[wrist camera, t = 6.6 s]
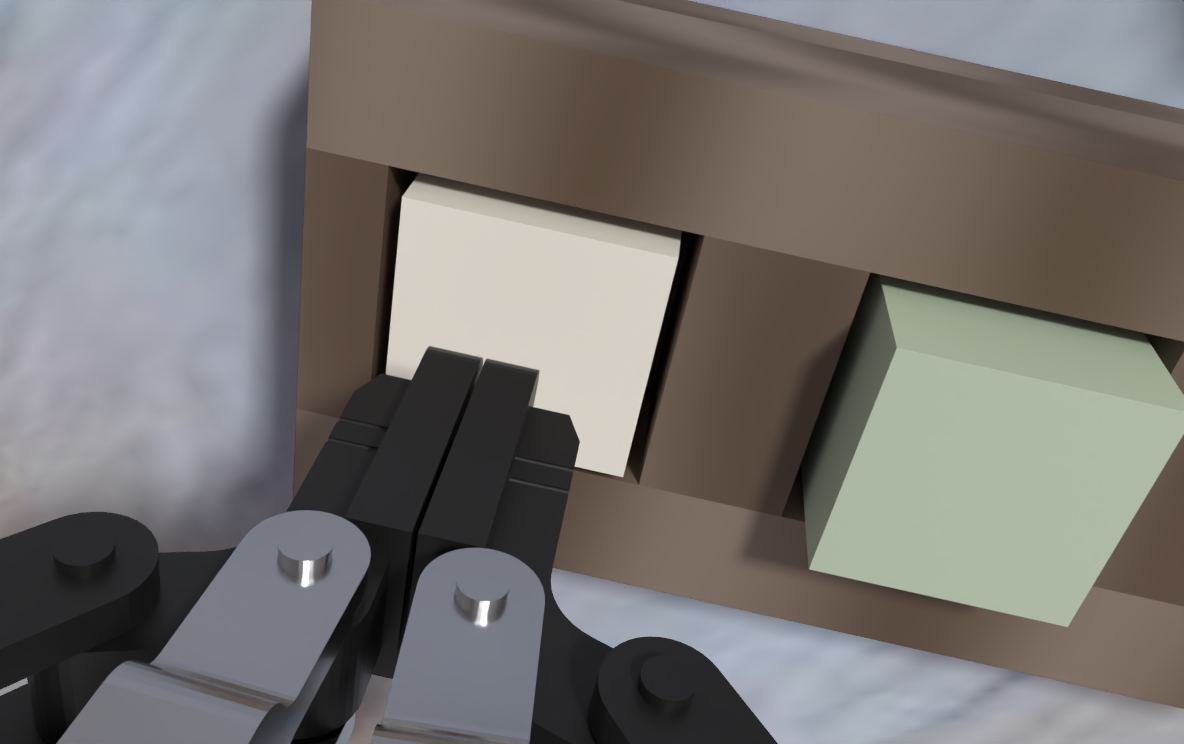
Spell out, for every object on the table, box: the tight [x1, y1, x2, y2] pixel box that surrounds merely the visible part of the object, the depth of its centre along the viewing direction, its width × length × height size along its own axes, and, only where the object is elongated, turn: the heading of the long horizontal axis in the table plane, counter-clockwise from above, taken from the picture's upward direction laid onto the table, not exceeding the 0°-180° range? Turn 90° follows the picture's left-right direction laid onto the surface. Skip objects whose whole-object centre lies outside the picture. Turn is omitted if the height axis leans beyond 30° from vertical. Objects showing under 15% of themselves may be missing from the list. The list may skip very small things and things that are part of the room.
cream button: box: [386, 173, 682, 477], centre depth 17 cm, size 4×4×3 cm
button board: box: [293, 0, 1184, 709], centre depth 18 cm, size 21×9×4 cm, turn 80°
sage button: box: [801, 272, 1184, 627], centre depth 16 cm, size 4×4×3 cm
